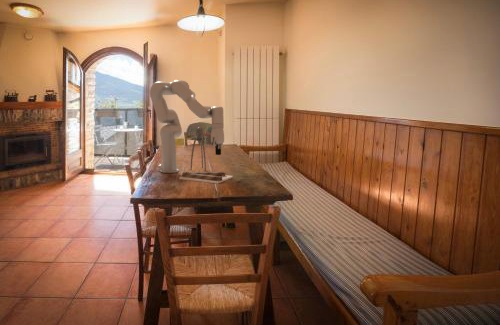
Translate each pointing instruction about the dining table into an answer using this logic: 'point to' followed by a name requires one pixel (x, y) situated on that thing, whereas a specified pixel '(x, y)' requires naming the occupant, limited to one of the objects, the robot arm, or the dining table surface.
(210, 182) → the board
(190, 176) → the tongs base
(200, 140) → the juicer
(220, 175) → the tongs arm
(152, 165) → the dining table surface
